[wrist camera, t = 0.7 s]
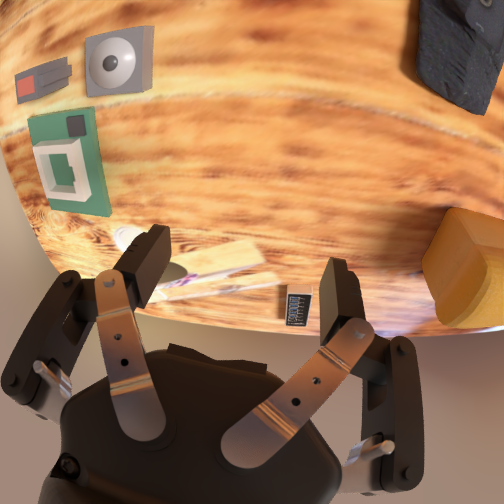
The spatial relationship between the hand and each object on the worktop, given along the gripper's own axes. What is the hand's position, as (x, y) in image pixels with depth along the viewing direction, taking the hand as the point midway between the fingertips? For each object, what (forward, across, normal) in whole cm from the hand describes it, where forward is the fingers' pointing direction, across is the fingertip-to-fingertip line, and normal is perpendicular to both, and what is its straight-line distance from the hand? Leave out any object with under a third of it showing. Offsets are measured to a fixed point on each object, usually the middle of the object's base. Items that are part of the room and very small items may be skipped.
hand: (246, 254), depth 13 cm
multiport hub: (+24, -9, +29) cm, 39 cm away
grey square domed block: (+19, +19, -10) cm, 29 cm away
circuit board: (+20, +31, +5) cm, 37 cm away
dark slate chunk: (+20, -19, -22) cm, 36 cm away
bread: (+23, -39, +8) cm, 46 cm away
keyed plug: (+19, +31, -10) cm, 37 cm away
